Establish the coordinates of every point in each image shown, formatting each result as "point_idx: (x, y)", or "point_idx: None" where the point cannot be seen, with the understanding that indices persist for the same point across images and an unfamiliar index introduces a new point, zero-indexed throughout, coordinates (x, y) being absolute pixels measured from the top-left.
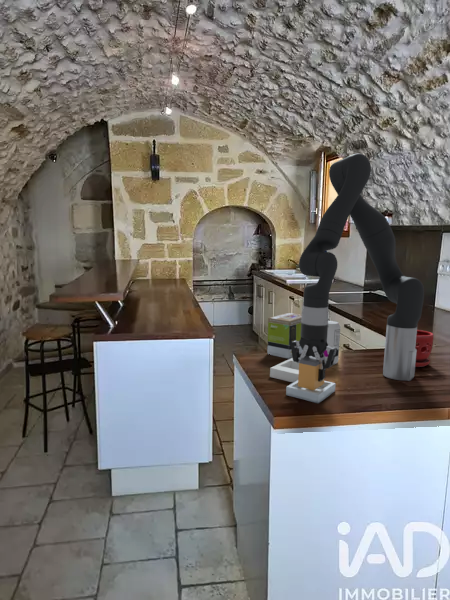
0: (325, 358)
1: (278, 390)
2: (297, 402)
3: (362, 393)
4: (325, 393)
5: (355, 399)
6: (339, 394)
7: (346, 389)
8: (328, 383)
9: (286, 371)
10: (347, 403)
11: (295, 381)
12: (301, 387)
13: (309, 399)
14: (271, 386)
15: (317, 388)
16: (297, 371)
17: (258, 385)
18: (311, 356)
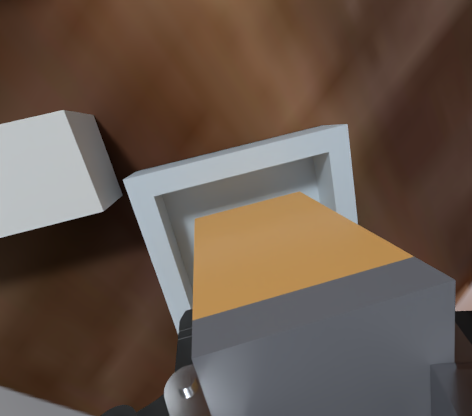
0: (444, 276)
1: (133, 347)
2: None
3: (442, 21)
4: None
5: (443, 140)
6: (359, 146)
7: (351, 37)
8: (309, 155)
9: None
10: (432, 213)
11: (167, 304)
12: (190, 256)
13: None
14: (66, 341)
15: (254, 196)
16: (21, 166)
17: (18, 382)
18: (278, 402)
